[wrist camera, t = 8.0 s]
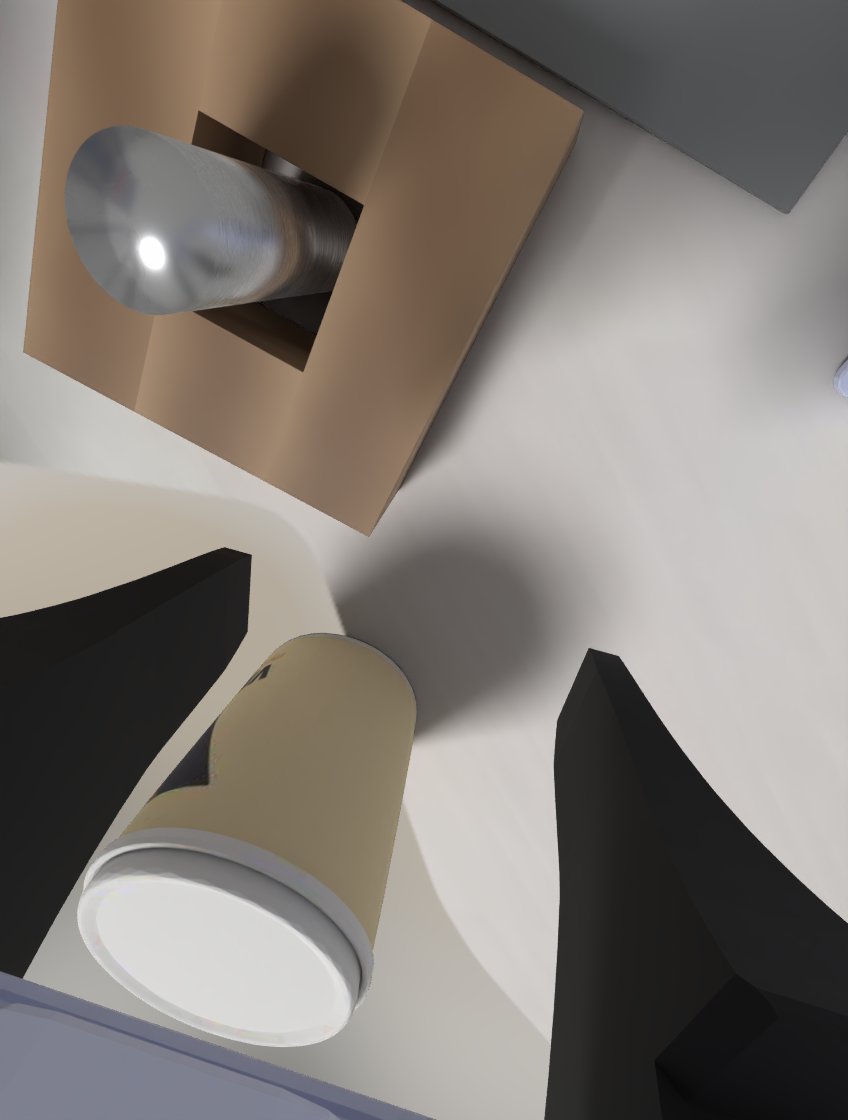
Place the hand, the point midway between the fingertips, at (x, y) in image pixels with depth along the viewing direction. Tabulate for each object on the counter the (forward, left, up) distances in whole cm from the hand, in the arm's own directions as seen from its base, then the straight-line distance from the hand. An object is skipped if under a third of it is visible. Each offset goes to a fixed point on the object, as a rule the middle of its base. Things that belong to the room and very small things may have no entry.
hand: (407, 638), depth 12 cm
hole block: (+8, -4, -10) cm, 14 cm away
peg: (+8, -4, -10) cm, 14 cm away
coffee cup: (0, +13, -11) cm, 17 cm away
